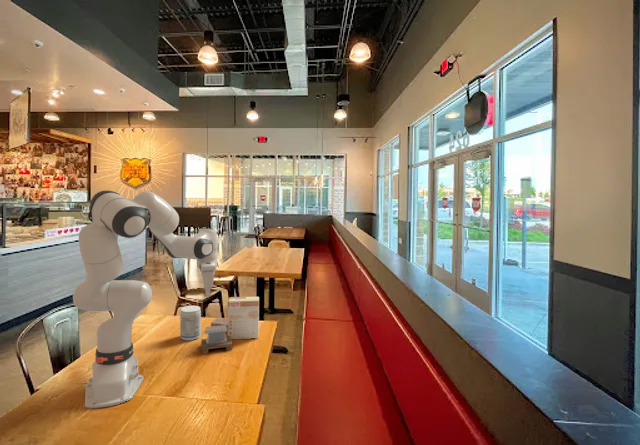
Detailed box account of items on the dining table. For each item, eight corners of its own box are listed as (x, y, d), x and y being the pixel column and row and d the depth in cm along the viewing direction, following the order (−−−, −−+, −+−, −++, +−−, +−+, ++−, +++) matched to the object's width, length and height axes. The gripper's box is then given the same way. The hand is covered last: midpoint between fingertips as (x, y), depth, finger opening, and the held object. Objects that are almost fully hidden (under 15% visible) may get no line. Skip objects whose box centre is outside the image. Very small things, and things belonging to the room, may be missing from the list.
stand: (232, 349, 162) (232, 343, 162) (202, 353, 157) (202, 347, 157) (229, 342, 170) (229, 336, 170) (201, 345, 166) (201, 339, 165)
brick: (246, 328, 189) (246, 319, 189) (240, 334, 181) (240, 325, 181) (217, 325, 192) (217, 317, 192) (210, 331, 184) (210, 322, 183)
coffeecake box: (258, 333, 182) (259, 296, 181) (258, 338, 175) (258, 300, 174) (229, 333, 180) (229, 296, 178) (227, 339, 173) (227, 300, 171)
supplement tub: (182, 333, 179) (182, 305, 178) (202, 333, 180) (202, 304, 179) (178, 341, 169) (178, 311, 168) (198, 340, 171) (198, 311, 170)
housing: (206, 344, 160) (206, 331, 159) (205, 340, 164) (205, 327, 164) (226, 342, 163) (226, 328, 162) (225, 338, 167) (225, 324, 167)
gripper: (199, 259, 169) (199, 287, 170) (200, 267, 150) (200, 299, 151) (212, 259, 172) (212, 287, 172) (216, 267, 152) (215, 298, 153)
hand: (207, 293), depth 162 cm, fingers open, 8 cm apart
